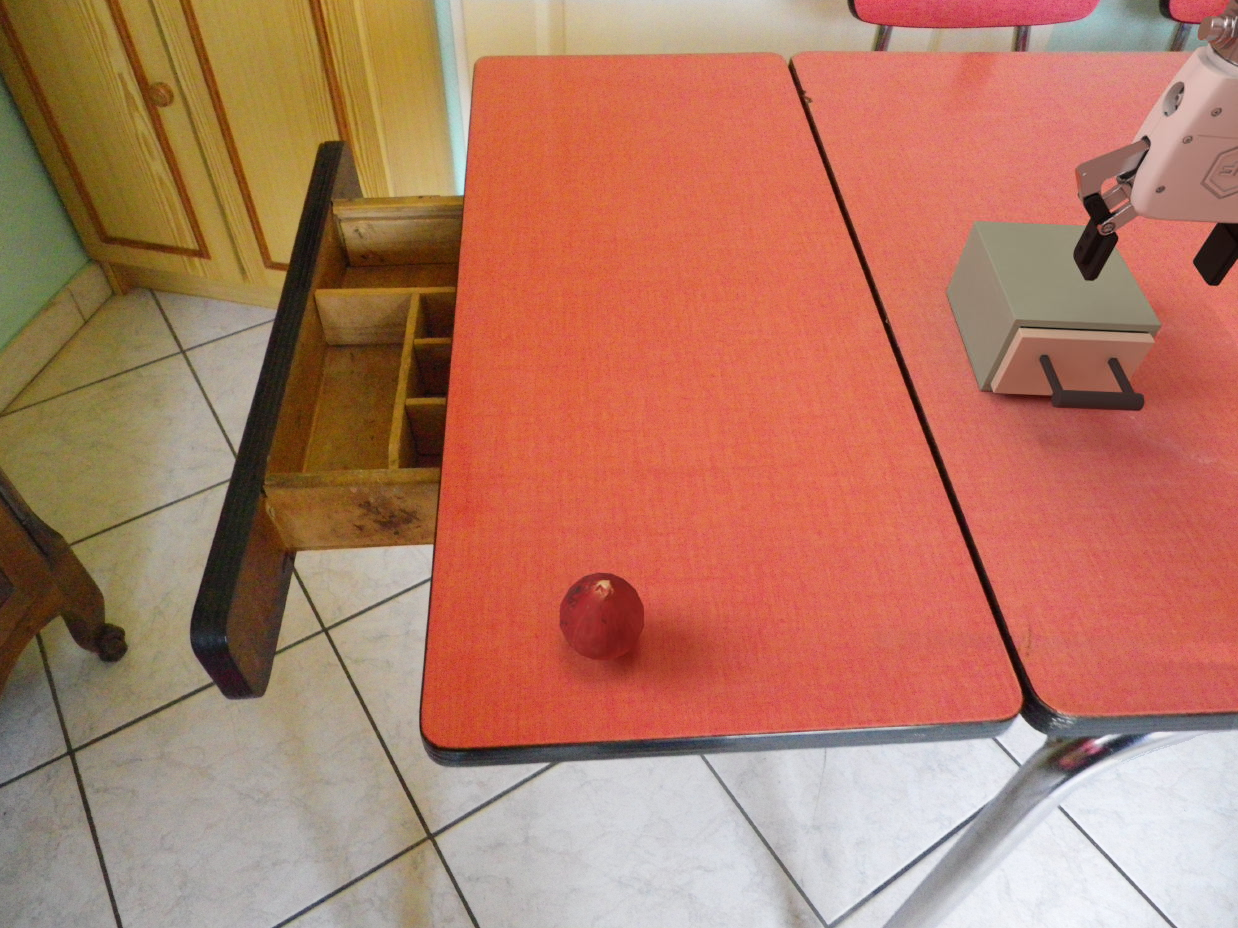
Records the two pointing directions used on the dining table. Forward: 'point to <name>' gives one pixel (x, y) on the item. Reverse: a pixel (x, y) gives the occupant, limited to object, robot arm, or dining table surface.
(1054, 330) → the drawer
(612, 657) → the onion
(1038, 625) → the dining table surface
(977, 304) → the cabinet
